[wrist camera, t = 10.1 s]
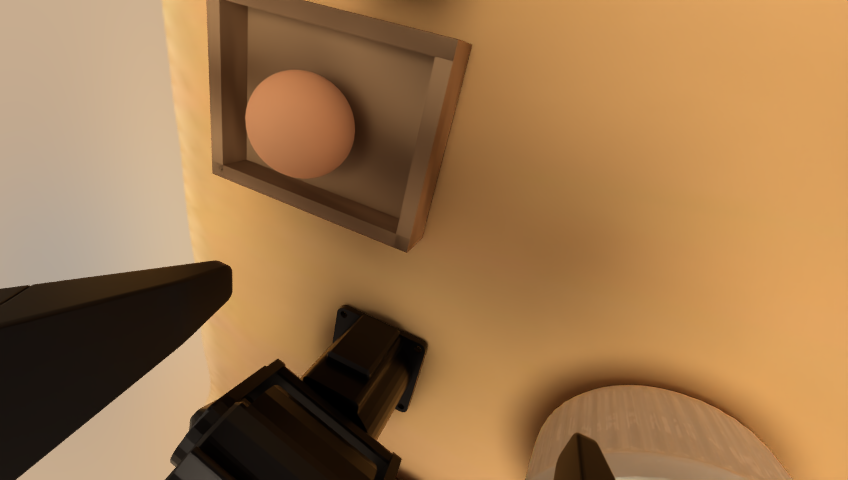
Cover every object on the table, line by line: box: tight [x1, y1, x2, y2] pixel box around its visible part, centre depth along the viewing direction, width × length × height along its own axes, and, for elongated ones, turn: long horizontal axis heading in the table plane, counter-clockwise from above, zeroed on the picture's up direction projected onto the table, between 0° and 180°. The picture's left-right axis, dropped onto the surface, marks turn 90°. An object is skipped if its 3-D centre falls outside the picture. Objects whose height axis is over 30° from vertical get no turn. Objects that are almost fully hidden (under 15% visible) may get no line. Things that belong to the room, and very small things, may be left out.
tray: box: [207, 0, 472, 253], centre depth 19 cm, size 10×13×2 cm
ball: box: [245, 70, 355, 179], centre depth 18 cm, size 5×5×5 cm
